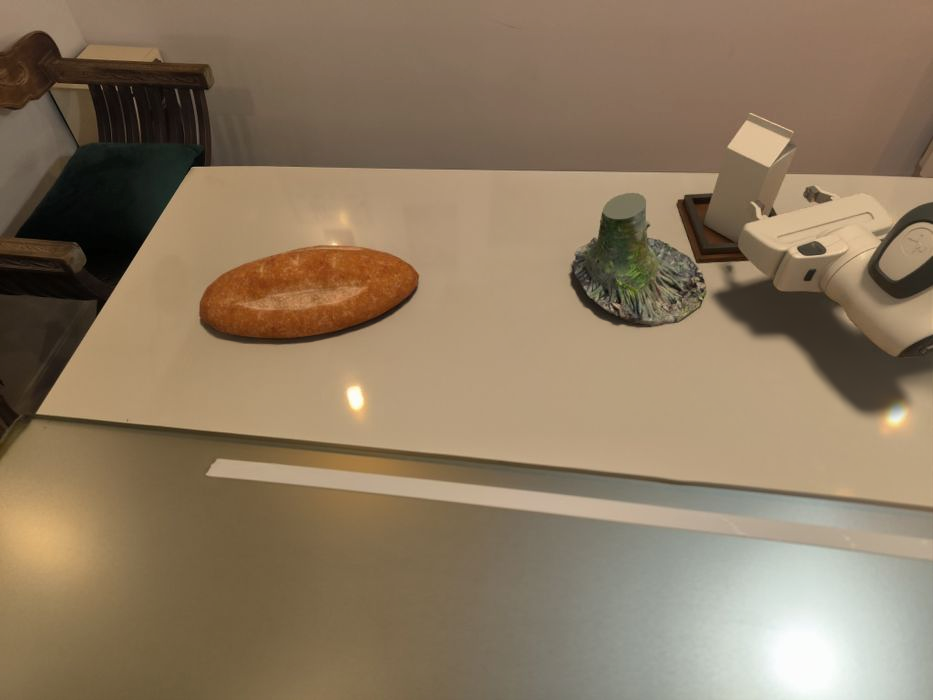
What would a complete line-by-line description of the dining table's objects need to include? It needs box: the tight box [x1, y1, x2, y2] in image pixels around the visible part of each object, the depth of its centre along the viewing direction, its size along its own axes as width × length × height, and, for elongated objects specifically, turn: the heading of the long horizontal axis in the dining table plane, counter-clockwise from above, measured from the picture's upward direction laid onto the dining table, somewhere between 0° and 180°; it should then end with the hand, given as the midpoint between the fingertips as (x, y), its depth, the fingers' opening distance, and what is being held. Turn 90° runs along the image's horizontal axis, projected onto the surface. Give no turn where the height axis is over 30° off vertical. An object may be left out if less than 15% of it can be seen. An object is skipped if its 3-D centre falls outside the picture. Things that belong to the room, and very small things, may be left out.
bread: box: [198, 244, 420, 339], centre depth 95 cm, size 18×35×9 cm, turn 97°
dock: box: [676, 192, 778, 264], centre depth 101 cm, size 15×15×2 cm
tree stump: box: [572, 192, 708, 327], centre depth 91 cm, size 18×20×18 cm
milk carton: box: [703, 112, 798, 243], centre depth 94 cm, size 7×7×19 cm
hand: (780, 197), depth 89 cm, fingers open, 8 cm apart
